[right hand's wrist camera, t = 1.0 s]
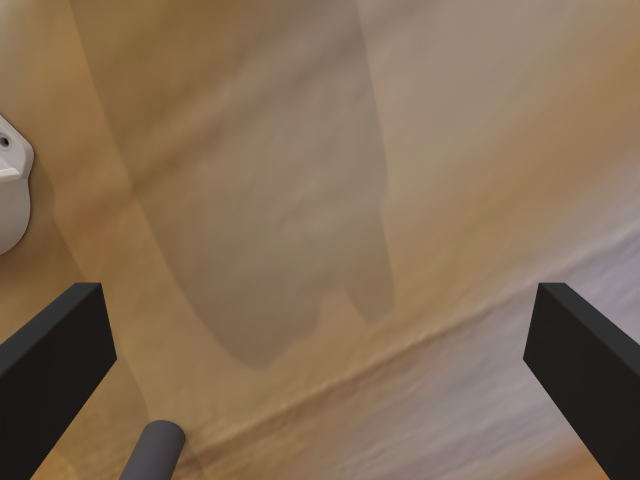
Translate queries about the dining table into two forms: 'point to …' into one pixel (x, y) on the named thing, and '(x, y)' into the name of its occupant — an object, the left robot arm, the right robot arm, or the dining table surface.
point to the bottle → (155, 452)
